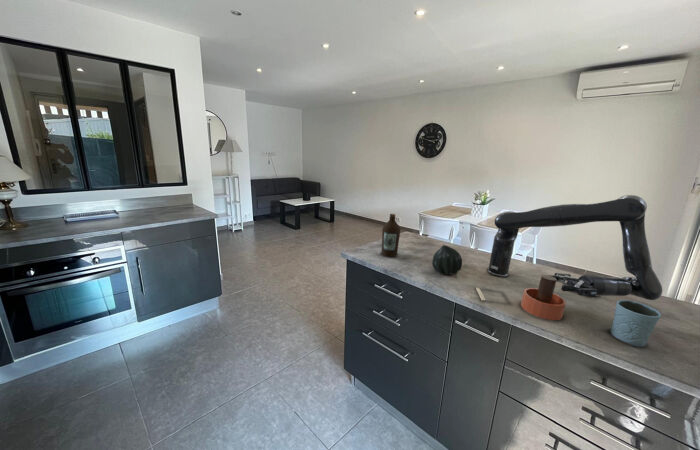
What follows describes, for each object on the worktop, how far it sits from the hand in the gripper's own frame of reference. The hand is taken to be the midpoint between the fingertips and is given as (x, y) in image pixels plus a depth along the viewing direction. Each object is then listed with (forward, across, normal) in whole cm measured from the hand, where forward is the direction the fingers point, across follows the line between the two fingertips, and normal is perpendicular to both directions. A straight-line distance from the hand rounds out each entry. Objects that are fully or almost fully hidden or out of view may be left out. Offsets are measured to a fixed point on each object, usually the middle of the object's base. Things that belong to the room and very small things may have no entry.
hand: (554, 282), depth 102 cm
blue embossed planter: (-17, +15, +13) cm, 26 cm away
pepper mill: (+3, 0, +12) cm, 12 cm away
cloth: (+17, -10, +12) cm, 23 cm away
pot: (+3, 0, +12) cm, 13 cm away
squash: (+30, -33, +13) cm, 47 cm away
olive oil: (+58, -55, +13) cm, 80 cm away
